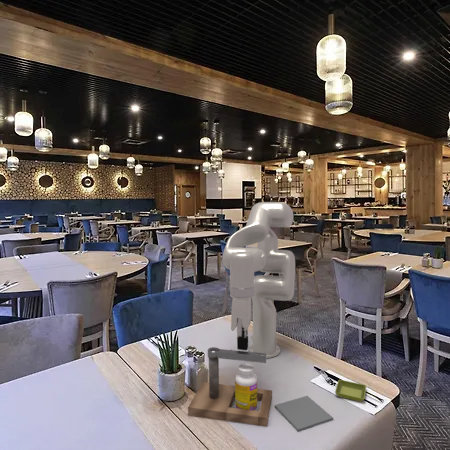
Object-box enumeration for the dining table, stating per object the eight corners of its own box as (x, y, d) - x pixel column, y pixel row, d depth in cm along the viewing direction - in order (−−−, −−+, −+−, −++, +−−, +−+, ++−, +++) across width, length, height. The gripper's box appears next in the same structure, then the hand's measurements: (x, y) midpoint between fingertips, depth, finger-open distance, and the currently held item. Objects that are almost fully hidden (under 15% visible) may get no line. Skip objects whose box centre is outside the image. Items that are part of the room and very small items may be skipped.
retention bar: (206, 358, 103) (206, 351, 103) (209, 353, 107) (209, 346, 106) (265, 364, 99) (265, 357, 99) (266, 358, 102) (266, 352, 102)
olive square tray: (338, 384, 116) (338, 379, 116) (366, 391, 112) (366, 384, 112) (334, 398, 108) (334, 392, 108) (364, 405, 105) (364, 399, 104)
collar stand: (188, 415, 100) (187, 365, 99) (202, 389, 114) (201, 345, 113) (266, 426, 95) (266, 374, 94) (272, 397, 108) (272, 352, 107)
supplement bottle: (251, 418, 99) (250, 375, 98) (231, 410, 102) (230, 369, 101) (261, 405, 104) (261, 365, 103) (242, 399, 108) (241, 359, 107)
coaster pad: (274, 407, 104) (274, 405, 104) (307, 397, 108) (307, 395, 108) (297, 431, 93) (297, 429, 93) (333, 419, 97) (333, 417, 97)
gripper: (235, 285, 115) (235, 338, 116) (224, 297, 100) (225, 358, 102) (257, 286, 113) (258, 340, 114) (250, 299, 98) (250, 361, 100)
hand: (242, 348), depth 108 cm, fingers closed
